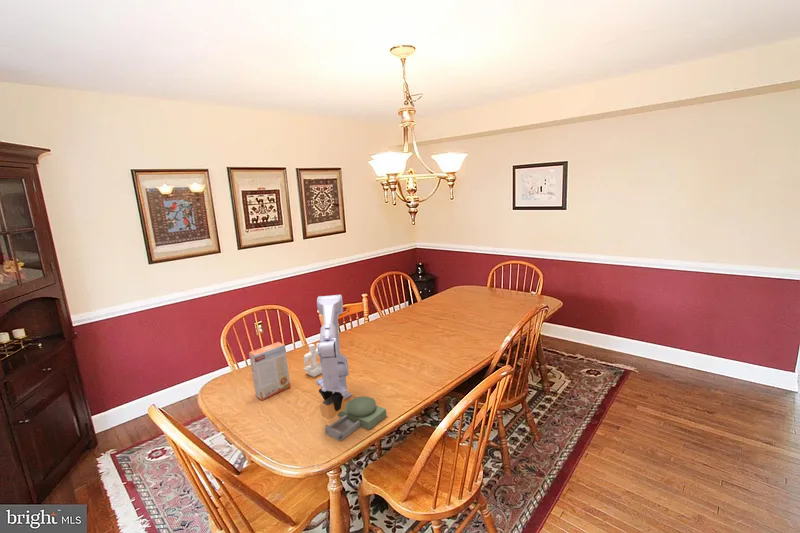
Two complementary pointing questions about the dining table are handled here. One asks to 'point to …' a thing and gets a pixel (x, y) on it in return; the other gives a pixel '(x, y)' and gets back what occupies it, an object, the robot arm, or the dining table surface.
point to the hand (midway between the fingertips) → (333, 407)
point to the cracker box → (269, 370)
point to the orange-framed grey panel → (330, 408)
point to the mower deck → (356, 417)
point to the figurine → (312, 361)
